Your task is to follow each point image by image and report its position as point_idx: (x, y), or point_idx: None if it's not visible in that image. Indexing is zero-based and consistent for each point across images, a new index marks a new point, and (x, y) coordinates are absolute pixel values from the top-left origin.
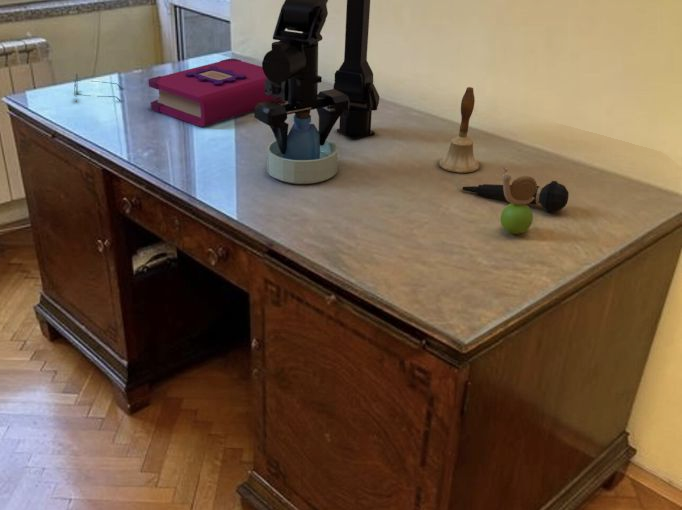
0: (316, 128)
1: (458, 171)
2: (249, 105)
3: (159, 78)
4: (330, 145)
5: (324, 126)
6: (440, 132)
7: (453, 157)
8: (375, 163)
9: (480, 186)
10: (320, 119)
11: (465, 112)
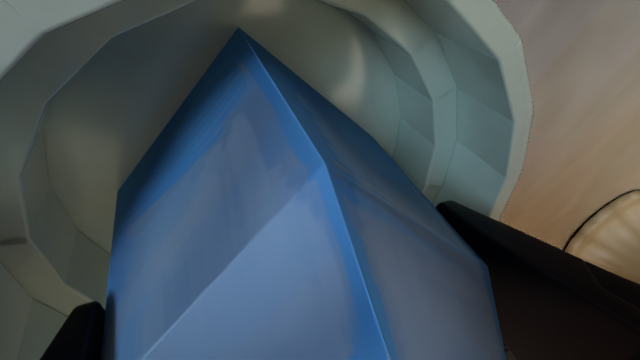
0: (498, 335)
1: None
2: None
3: None
4: (475, 206)
5: (543, 352)
6: None
7: (606, 262)
8: (528, 165)
9: (504, 348)
10: (630, 354)
11: None
